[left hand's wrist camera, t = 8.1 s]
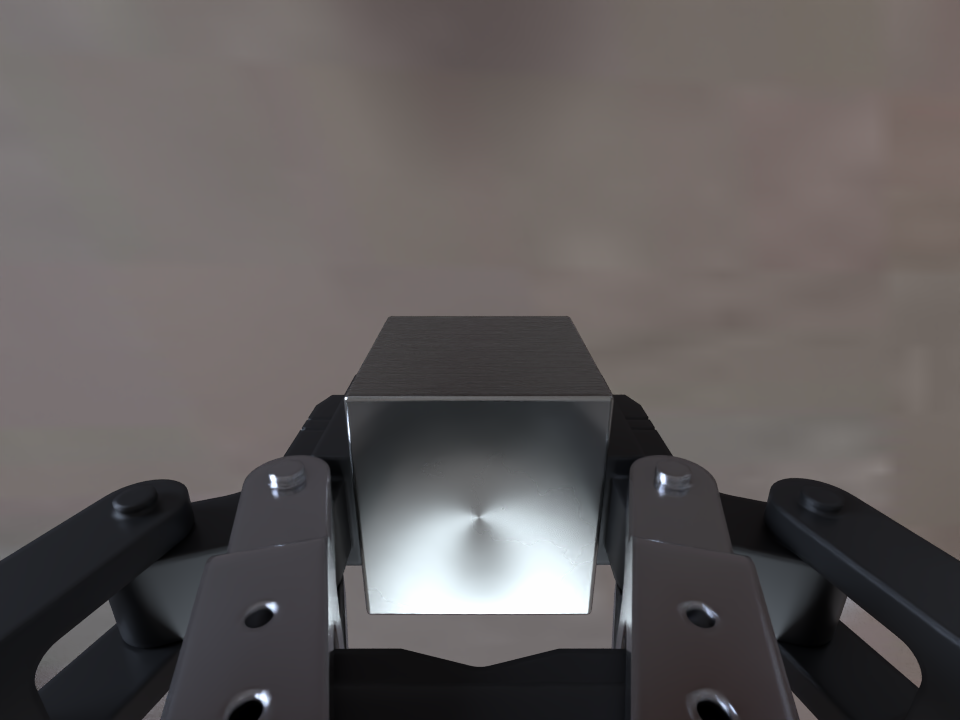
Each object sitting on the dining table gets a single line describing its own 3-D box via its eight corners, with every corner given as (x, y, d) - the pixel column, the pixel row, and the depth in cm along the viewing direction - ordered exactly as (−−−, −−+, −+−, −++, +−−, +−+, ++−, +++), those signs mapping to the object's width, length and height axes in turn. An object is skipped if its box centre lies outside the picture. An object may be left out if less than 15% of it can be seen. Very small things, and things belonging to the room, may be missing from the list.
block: (398, 481, 13) (366, 617, 9) (387, 315, 12) (341, 396, 8) (559, 480, 13) (592, 616, 9) (570, 314, 12) (616, 396, 8)
